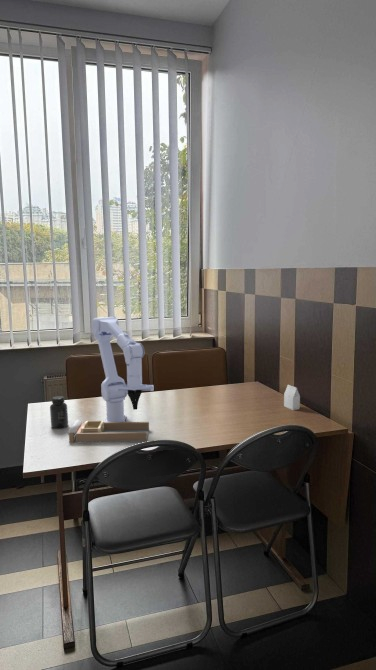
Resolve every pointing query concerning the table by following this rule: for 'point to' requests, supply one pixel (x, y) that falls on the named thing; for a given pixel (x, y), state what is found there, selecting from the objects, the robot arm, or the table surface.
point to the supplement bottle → (58, 412)
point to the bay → (111, 432)
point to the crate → (93, 427)
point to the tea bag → (291, 398)
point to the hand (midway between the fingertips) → (135, 408)
